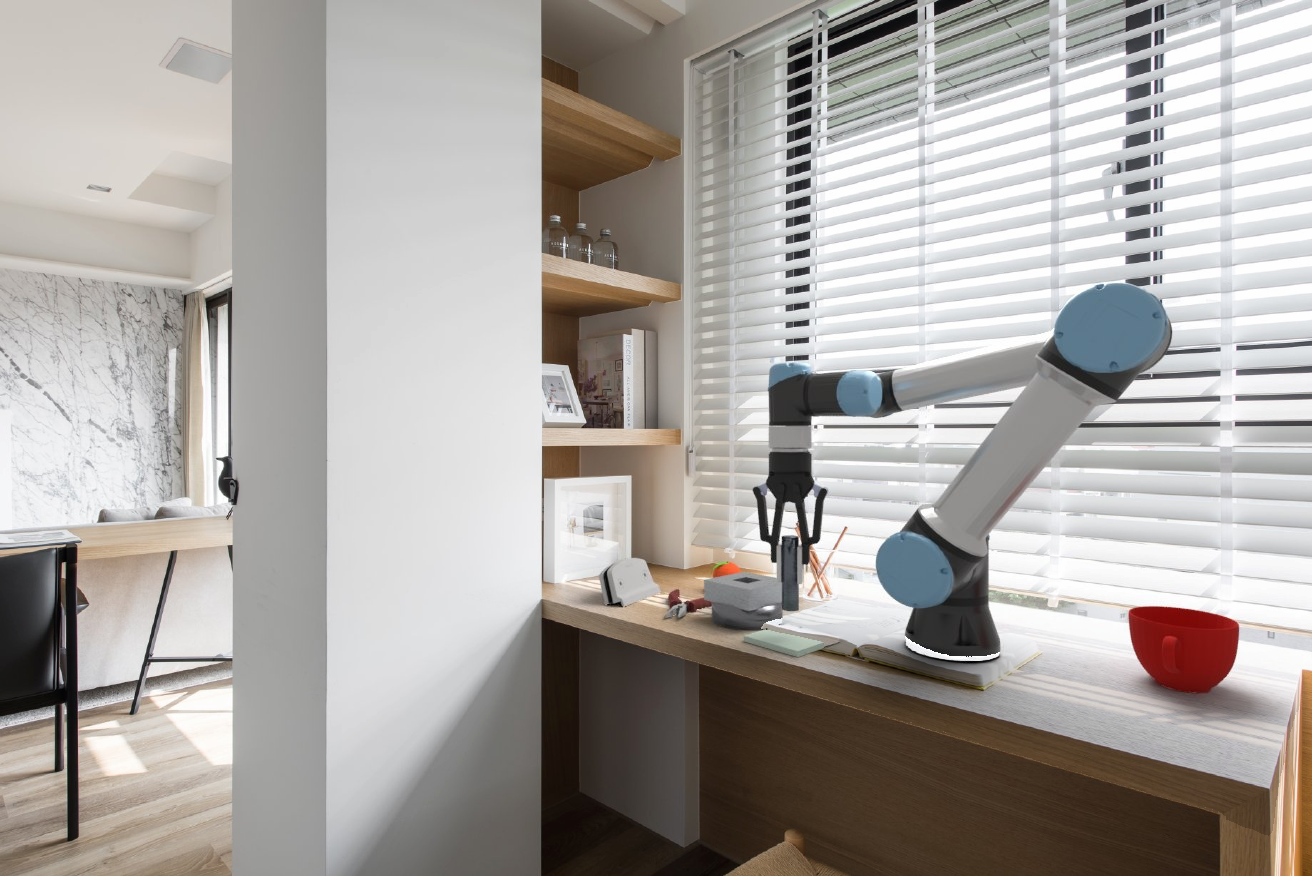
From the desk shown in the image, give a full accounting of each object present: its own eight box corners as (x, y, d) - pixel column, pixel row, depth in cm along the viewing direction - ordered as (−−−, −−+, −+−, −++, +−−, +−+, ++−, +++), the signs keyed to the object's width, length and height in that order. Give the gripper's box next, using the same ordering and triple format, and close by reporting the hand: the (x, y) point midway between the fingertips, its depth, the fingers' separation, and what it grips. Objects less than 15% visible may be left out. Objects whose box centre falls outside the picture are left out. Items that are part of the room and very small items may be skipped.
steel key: (796, 614, 121) (796, 539, 121) (779, 613, 122) (778, 538, 122) (801, 605, 127) (801, 534, 127) (784, 604, 128) (784, 533, 128)
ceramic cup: (1112, 692, 100) (1111, 622, 100) (1139, 664, 112) (1139, 601, 111) (1228, 718, 90) (1228, 641, 90) (1244, 684, 102) (1244, 616, 102)
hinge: (623, 608, 150) (610, 562, 152) (606, 612, 152) (593, 568, 154) (661, 592, 165) (649, 551, 166) (645, 596, 167) (633, 556, 168)
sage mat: (839, 642, 124) (839, 636, 124) (797, 657, 116) (797, 651, 116) (786, 628, 133) (786, 623, 133) (743, 641, 125) (743, 635, 125)
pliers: (644, 621, 141) (644, 608, 141) (673, 598, 160) (673, 587, 160) (699, 626, 137) (699, 612, 137) (722, 602, 157) (722, 591, 156)
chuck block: (797, 620, 139) (796, 580, 139) (750, 634, 130) (749, 591, 129) (744, 607, 149) (744, 570, 149) (697, 619, 140) (697, 579, 140)
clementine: (719, 596, 159) (718, 565, 159) (703, 590, 166) (703, 560, 166) (748, 592, 163) (748, 562, 163) (732, 587, 169) (731, 557, 169)
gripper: (837, 450, 125) (838, 580, 126) (749, 449, 131) (750, 574, 131) (834, 451, 118) (834, 589, 119) (741, 450, 124) (741, 583, 124)
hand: (790, 581), depth 125 cm, fingers closed on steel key, 3 cm apart
